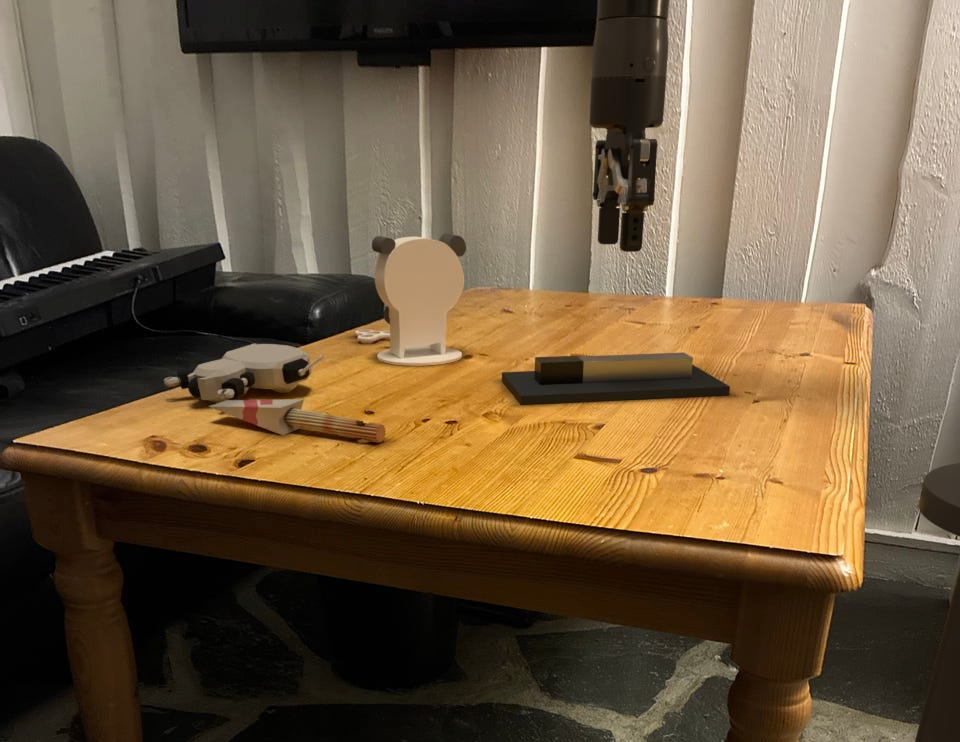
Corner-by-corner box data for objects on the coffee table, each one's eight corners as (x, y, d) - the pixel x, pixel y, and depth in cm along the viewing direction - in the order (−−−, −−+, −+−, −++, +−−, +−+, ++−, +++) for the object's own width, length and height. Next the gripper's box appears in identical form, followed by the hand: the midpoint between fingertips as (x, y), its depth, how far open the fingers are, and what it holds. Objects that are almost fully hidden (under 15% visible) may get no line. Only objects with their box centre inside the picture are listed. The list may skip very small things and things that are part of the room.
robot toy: (231, 424, 99) (333, 387, 109) (223, 381, 97) (327, 348, 107) (161, 407, 106) (263, 373, 116) (152, 366, 104) (257, 336, 113)
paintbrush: (228, 385, 98) (390, 415, 90) (230, 411, 99) (391, 443, 92) (202, 392, 95) (368, 424, 87) (205, 419, 96) (369, 453, 89)
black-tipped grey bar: (540, 385, 106) (540, 362, 105) (534, 379, 109) (534, 357, 108) (691, 378, 109) (693, 356, 108) (681, 372, 112) (684, 351, 111)
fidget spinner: (354, 334, 140) (353, 329, 139) (396, 332, 141) (396, 327, 141) (358, 343, 134) (358, 337, 133) (403, 341, 135) (402, 335, 135)
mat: (691, 372, 116) (692, 364, 116) (729, 395, 106) (730, 386, 105) (501, 380, 113) (501, 372, 113) (521, 404, 103) (521, 395, 102)
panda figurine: (446, 345, 133) (443, 230, 126) (480, 360, 124) (479, 236, 117) (365, 353, 128) (358, 234, 121) (395, 368, 119) (389, 241, 112)
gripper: (575, 79, 100) (569, 243, 108) (613, 68, 88) (603, 254, 95) (642, 79, 101) (632, 241, 109) (689, 69, 89) (674, 253, 96)
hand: (618, 247), depth 102 cm, fingers open, 8 cm apart
